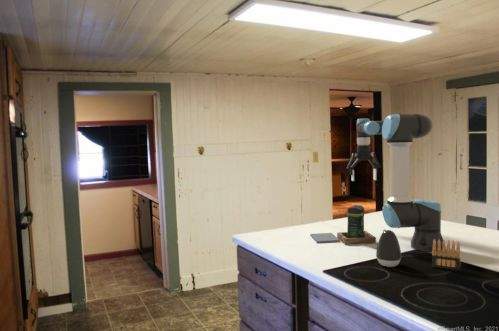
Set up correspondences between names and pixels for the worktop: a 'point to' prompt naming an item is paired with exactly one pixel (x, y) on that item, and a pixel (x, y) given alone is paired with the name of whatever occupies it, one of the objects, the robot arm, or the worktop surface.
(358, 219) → the coffee jar
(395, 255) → the grey egg shaped container
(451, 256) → the ammunition clip
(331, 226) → the worktop surface
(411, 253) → the worktop surface
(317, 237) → the slate mat
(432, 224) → the robot arm
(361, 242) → the walnut collar
